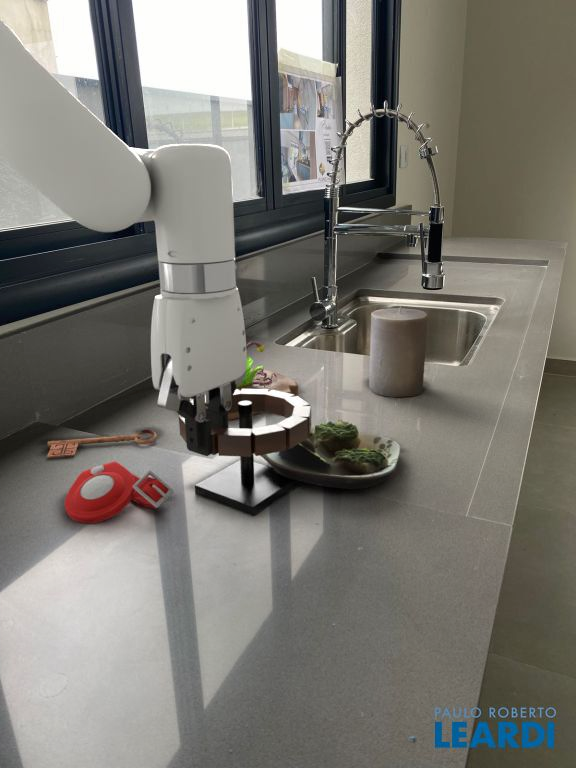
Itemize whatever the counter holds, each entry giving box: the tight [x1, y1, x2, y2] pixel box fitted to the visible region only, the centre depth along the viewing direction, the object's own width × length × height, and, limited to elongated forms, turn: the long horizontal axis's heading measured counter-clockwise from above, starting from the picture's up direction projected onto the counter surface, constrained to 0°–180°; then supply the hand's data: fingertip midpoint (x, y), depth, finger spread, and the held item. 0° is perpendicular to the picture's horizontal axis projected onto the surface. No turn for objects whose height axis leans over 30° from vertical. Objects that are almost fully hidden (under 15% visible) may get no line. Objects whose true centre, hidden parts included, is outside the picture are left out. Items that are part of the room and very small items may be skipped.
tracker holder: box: [64, 461, 175, 524], centre depth 70 cm, size 12×4×10 cm
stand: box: [194, 401, 300, 517], centre depth 71 cm, size 9×9×11 cm
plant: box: [177, 340, 299, 421], centre depth 103 cm, size 20×20×11 cm
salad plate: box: [260, 419, 401, 490], centre depth 80 cm, size 19×18×5 cm
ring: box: [178, 389, 312, 457], centre depth 70 cm, size 15×15×2 cm
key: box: [46, 429, 157, 459], centre depth 85 cm, size 6×1×15 cm
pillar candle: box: [368, 305, 428, 398], centre depth 106 cm, size 10×10×15 cm
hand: (208, 446), depth 66 cm, fingers closed on ring, 2 cm apart
